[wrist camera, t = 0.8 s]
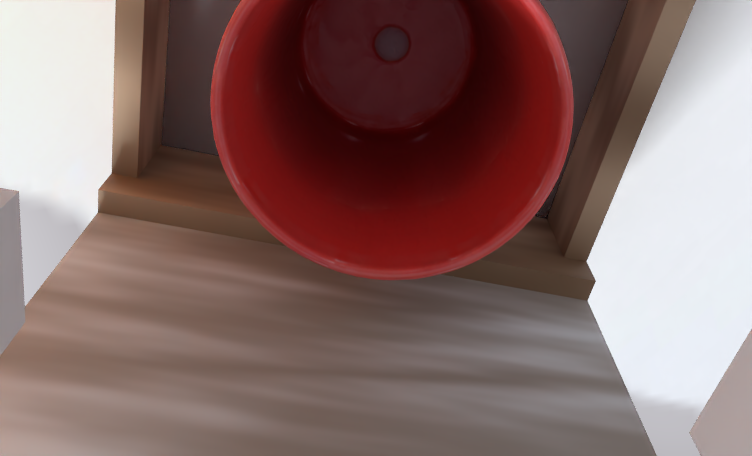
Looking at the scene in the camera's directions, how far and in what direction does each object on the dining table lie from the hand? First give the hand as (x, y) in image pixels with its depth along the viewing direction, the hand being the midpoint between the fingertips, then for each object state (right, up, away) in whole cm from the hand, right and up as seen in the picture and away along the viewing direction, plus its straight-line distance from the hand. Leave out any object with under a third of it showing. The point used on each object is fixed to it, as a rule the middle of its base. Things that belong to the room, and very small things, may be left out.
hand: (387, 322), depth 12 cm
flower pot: (0, +9, +16) cm, 19 cm away
